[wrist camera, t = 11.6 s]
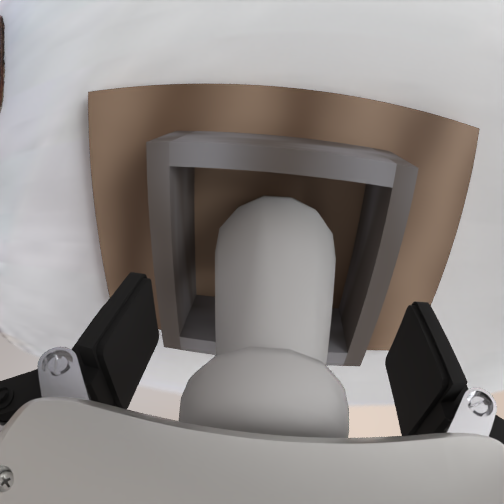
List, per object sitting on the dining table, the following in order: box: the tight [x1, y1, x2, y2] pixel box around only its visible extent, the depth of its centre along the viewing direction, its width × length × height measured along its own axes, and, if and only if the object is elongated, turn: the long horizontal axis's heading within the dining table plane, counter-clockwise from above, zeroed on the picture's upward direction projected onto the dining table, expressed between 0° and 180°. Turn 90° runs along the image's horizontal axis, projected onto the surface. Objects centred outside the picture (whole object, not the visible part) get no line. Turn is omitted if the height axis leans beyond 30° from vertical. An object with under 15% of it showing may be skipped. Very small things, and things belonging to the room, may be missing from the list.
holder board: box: [88, 84, 479, 366], centre depth 17 cm, size 22×16×6 cm
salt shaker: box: [179, 196, 349, 438], centre depth 12 cm, size 6×6×13 cm
